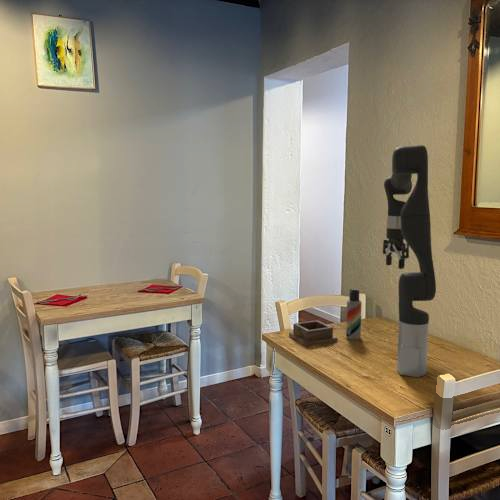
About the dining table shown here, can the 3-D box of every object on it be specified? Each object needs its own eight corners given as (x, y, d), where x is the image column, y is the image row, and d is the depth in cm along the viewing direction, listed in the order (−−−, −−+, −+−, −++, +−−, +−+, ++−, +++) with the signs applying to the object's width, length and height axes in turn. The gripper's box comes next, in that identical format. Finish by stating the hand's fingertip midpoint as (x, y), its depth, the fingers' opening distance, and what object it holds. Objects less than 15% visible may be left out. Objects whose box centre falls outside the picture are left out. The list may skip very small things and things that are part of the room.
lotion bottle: (343, 337, 196) (344, 289, 193) (350, 334, 200) (352, 286, 197) (355, 340, 192) (357, 291, 189) (363, 337, 196) (364, 289, 193)
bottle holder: (337, 341, 191) (337, 328, 190) (306, 346, 185) (306, 332, 184) (318, 331, 203) (318, 319, 203) (289, 336, 198) (289, 323, 197)
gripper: (378, 225, 200) (377, 264, 202) (399, 229, 186) (397, 270, 188) (393, 225, 202) (392, 263, 204) (415, 228, 189) (413, 269, 191)
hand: (394, 266), depth 196 cm, fingers open, 8 cm apart
